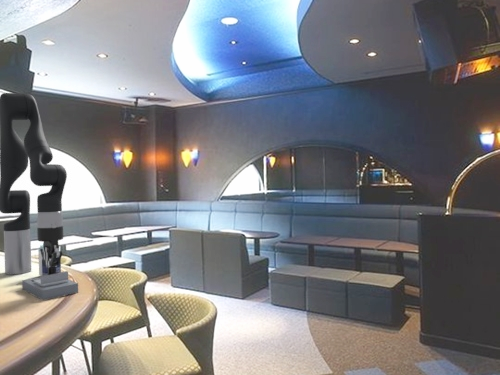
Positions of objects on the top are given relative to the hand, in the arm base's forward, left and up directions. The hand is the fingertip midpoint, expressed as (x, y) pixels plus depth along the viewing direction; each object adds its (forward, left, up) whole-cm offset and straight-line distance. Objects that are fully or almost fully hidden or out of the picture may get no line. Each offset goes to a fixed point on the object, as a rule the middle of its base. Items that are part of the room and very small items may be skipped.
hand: (51, 278), depth 127 cm
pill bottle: (-17, +6, -5) cm, 18 cm away
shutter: (-1, 0, -1) cm, 2 cm away
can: (-26, +8, -5) cm, 28 cm away
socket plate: (-2, 0, -4) cm, 5 cm away
